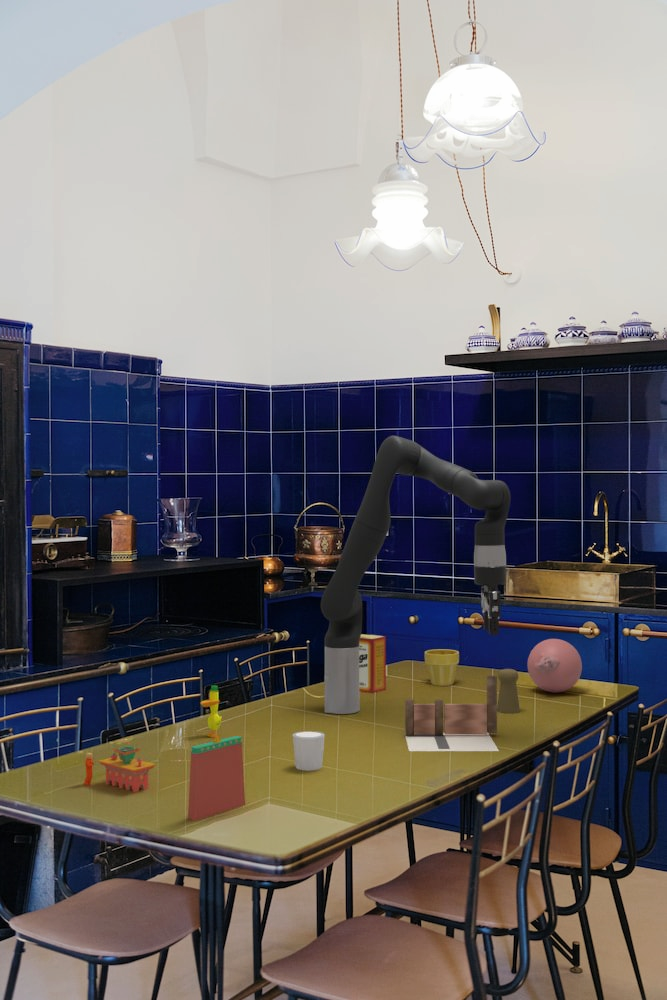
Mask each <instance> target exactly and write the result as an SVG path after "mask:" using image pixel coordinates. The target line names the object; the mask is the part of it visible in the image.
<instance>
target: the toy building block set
mask: <svg viewBox="0 0 667 1000" xmlns="http://www.w3.org/2000/svg"><path fill="white" fill-rule="evenodd" d="M242 738H243V736H239V735H234V736H230V737H225V738H222V739H221V738H220V736H218V734H217V735H216V736H215V737H213V739H212V741H209V742H205V743H202V744H197V745H194V746H190V749H191V750H190V763H189V764H190V765H189V784H188V785H189V789H188V790H189V791H188V808H187V809H188V810H187V811H188V813H187V819H189V820H192V821H194V822H196V821H199V820H201V819H205V818H207V817H208V818H209V817H211V816H215V815H218V814H220V813H225V812H227V811H230V810H231V811H232V810H233V809H236V808H240V807H243V806H246V797H245V796H246V792H245V773H244V759H243V758H244V757H243V741H242ZM140 750H141V748H137V747H134V746H129V745H128V746H127V745H126V746H122V747H118V748H115V749H113V753H112V754H111V756H110V757H108V758H104V759H100V760H97V762H99V764H101V765H102V766H104V767H105V785H111V786H113V787H117V786H118V788H119V789H124V788H125V790H126V791H130V790H132V792H134V793H137V792H139V791H140V788H141V790H147V789H149V771H150V770H152V769H154V768H155V767H156V766H157V763H152V762H148V761H144V759H143V758H142V757H138V758H137V759H136V758H135V756H136V753H139V751H140ZM116 753H117V754H118V755H117V754H116ZM84 761H85V762H84V764H85V773H86V774H85V779H84V782H83V785H84V786H91V784H92V780H93V779H92V778H93V765H95V761H96V760H95V759H94V760H93V753H92V752H87V753H86V754H85V760H84Z"/></svg>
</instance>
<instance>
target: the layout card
mask: <svg viewBox="0 0 667 1000" xmlns="http://www.w3.org/2000/svg"><path fill="white" fill-rule="evenodd" d="M404 737H405V740H406V744H407V745H406V746H407V748H408V752H499V751H500V750H499V749H498V747H497V745H496V744H495V741H494V740H493V739H492V737H491V735H490V733H487V734H444V732H443V736H435V734H414V736H405V735H404Z"/></svg>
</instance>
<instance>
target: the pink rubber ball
mask: <svg viewBox="0 0 667 1000" xmlns="http://www.w3.org/2000/svg"><path fill="white" fill-rule="evenodd" d="M582 663H583V661H582V658H581V655H580V654H579V651H578V650H577V649H576V648H575V647H574V645H572V644H571V643H569V642H568V641H565V640H563V639H558V638H548V639H545V640H542V641H540V642H539V643H537V644H536V645H535V646H534V647H533V649H532V650H530V653H529V656H528V658H527V663H526V664H527V672H528V674H529V677H530V679H531V681H532V682H533V683H534V685H535V686H536V687H537V688H539V689H541V690H543V691H545V692H547V693H552V694H553V693H555V694H557V693H558V694H559V693H562V692H565V691H568V690H570V689H572V688H573V687H574V686H575V685H576V683H578V682H579V679H580V677H581V674H582V671H583V664H582Z"/></svg>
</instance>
